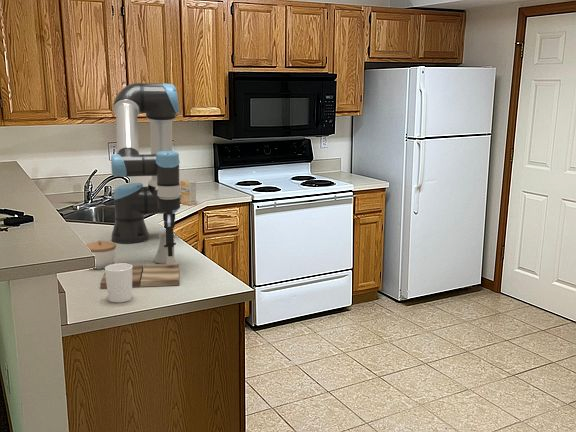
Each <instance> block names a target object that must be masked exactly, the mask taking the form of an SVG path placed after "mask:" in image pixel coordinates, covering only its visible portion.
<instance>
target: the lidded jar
mask: <svg viewBox="0 0 576 432" xmlns="http://www.w3.org/2000/svg"><path fill="white" fill-rule="evenodd" d="M85 245H86V246H87V247H88V248H89V249H90V250H91V252H92V253H93V254H94V255H95V259H96V268H97V269H98V270H101V269H102V268H103V269H105V267H106V266H108V265H111V264H114V261H115V260H116V256H117V255H116V252H117V251H116V249H117V244H116V242H113V241H112V242H111V241H102V240H98V241H95V242H89V243H86V244H85ZM97 269H96V270H97Z"/></svg>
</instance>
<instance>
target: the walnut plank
mask: <svg viewBox="0 0 576 432" xmlns="http://www.w3.org/2000/svg"><path fill="white" fill-rule="evenodd" d="M131 265H132V289H133V288H140V287H141V277H142V273H143V268H144V265H143V264H134V265H133V264H131ZM99 286H100V287H99V288H100V289H101V290H105V289H106V290H107V283H106V274H105V272H104V274H103V276H102V277H101V280H100V282H99Z"/></svg>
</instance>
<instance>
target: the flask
mask: <svg viewBox="0 0 576 432" xmlns="http://www.w3.org/2000/svg"><path fill="white" fill-rule="evenodd" d="M158 238H159V245H158V249H157V251H156V254H155V257H154V260H153V262H154V263H156V264H166V247H164V245H166V233H164V234H159V235H158ZM174 261H176V259H175V258H174Z"/></svg>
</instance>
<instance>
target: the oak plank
mask: <svg viewBox="0 0 576 432" xmlns="http://www.w3.org/2000/svg"><path fill="white" fill-rule="evenodd" d="M160 286H161V287H165V286H166V287H167V286H180V263H175V265H167V264H159V263H156V264H144V265H143V273H142V277H141V283H140V287H160Z"/></svg>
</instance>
